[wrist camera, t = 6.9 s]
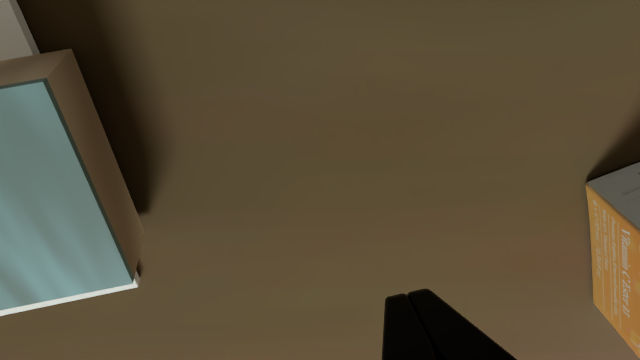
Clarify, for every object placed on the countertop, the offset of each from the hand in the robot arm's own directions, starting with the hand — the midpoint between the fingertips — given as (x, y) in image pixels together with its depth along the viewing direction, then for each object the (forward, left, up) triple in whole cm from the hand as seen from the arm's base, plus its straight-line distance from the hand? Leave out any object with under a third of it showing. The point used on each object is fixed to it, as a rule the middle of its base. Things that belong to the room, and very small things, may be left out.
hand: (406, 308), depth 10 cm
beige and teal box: (+7, 0, -8) cm, 11 cm away
